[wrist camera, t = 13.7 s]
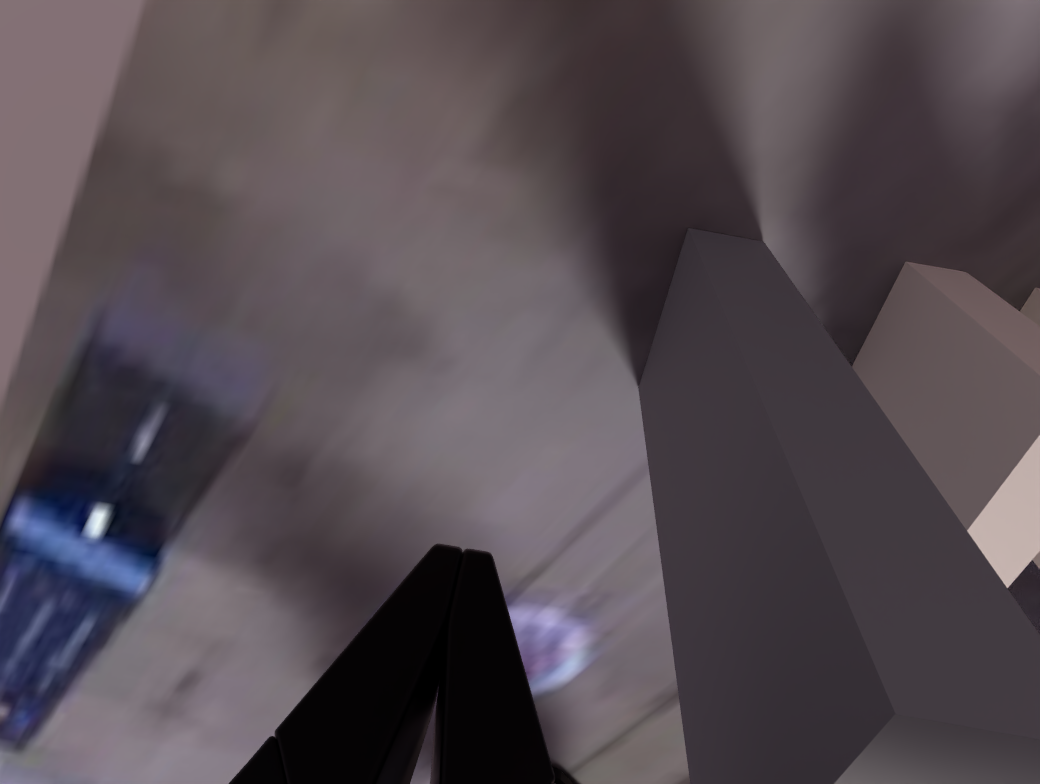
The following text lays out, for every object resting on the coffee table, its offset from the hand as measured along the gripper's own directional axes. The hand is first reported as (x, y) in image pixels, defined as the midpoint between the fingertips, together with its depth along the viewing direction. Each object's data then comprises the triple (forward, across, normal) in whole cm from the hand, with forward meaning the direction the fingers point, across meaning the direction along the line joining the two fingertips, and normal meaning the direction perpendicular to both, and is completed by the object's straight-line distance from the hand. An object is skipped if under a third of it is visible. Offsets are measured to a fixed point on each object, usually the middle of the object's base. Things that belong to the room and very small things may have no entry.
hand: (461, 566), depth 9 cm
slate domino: (+10, -5, 0) cm, 11 cm away
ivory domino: (+10, -10, 0) cm, 15 cm away
